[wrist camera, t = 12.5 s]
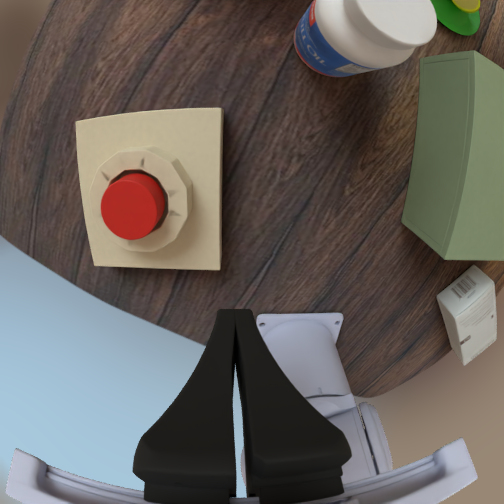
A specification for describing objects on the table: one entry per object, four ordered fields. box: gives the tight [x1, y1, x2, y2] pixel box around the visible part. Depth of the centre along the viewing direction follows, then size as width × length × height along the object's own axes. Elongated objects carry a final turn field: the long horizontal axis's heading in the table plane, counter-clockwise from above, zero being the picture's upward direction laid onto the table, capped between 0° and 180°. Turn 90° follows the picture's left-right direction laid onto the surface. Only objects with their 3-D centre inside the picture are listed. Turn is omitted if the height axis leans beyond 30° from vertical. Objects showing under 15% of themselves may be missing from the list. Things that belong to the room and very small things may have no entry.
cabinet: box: [401, 51, 504, 260], centre depth 15 cm, size 10×14×7 cm
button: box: [101, 173, 165, 240], centre depth 15 cm, size 4×4×2 cm
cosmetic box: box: [436, 265, 497, 366], centre depth 25 cm, size 6×4×12 cm
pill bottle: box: [294, 0, 437, 77], centre depth 11 cm, size 6×5×10 cm
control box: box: [76, 108, 224, 270], centre depth 18 cm, size 11×10×4 cm
